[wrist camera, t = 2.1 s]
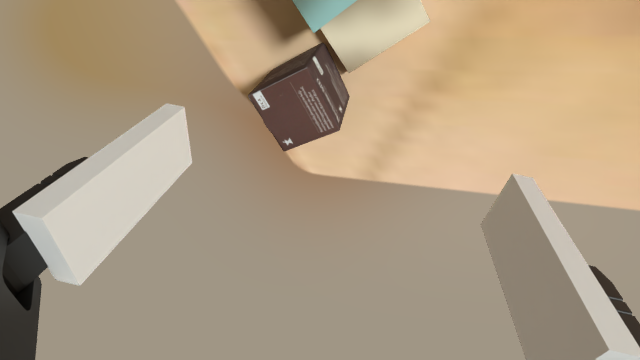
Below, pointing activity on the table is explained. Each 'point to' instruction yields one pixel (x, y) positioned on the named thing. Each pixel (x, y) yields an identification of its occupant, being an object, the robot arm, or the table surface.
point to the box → (302, 98)
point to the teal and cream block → (362, 25)
